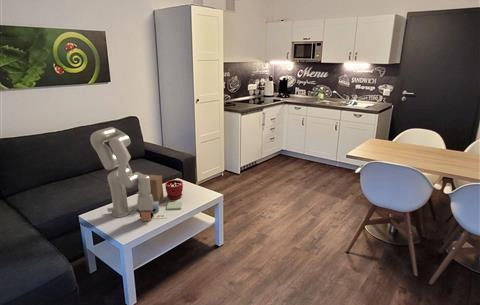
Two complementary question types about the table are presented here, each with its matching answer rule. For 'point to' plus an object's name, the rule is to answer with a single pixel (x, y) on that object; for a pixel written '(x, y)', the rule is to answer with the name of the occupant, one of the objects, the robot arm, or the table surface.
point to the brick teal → (157, 205)
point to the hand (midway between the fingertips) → (146, 217)
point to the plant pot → (174, 189)
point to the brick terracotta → (146, 215)
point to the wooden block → (156, 188)
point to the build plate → (174, 205)
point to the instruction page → (160, 216)
